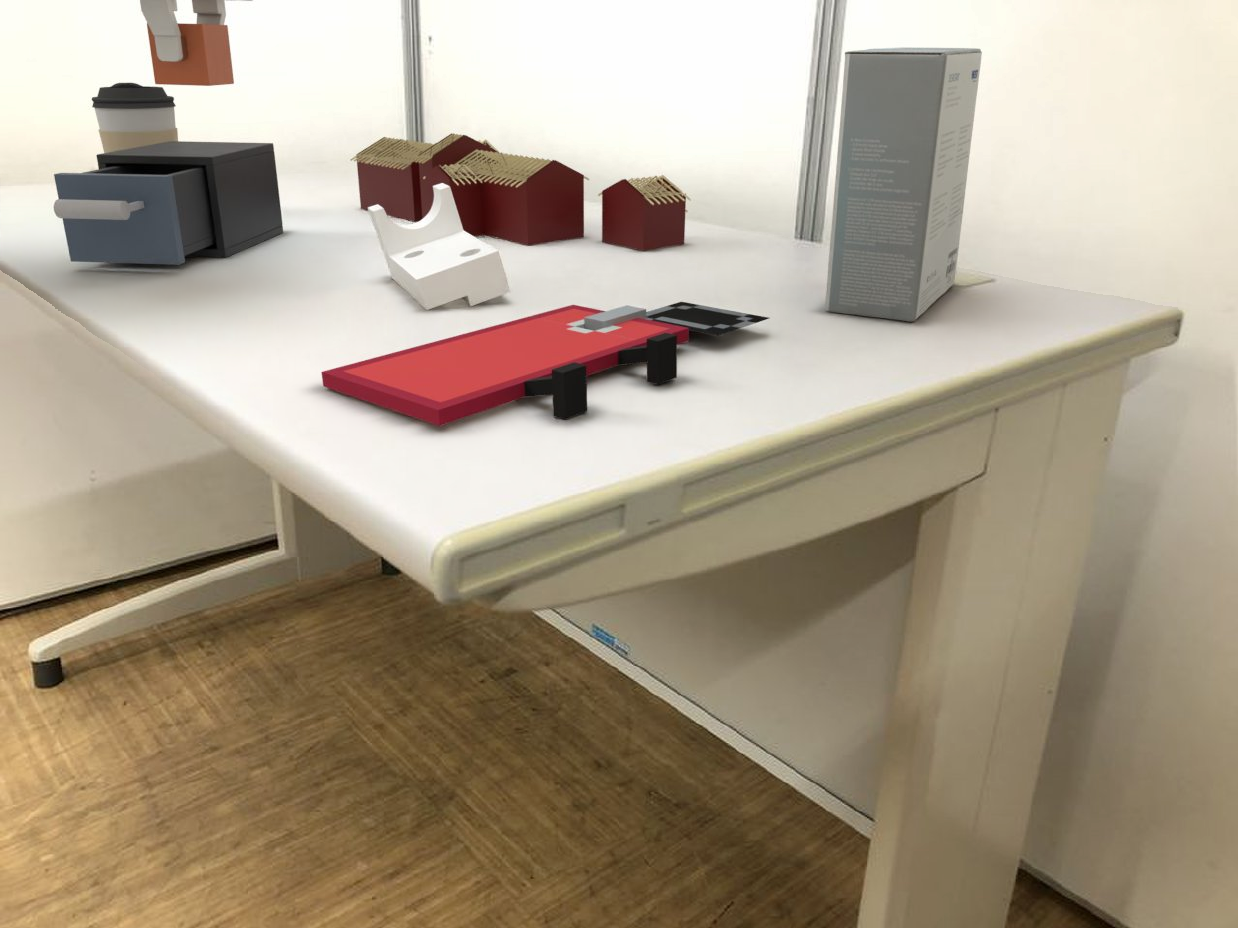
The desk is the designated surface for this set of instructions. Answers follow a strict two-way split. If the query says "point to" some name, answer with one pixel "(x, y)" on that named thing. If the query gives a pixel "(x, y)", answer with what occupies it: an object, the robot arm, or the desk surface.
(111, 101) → the coffee cup
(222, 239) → the cabinet
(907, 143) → the hard drive box
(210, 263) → the desk surface
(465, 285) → the bracket
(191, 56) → the block
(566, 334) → the red board with handle
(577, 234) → the toy houses
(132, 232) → the drawer
